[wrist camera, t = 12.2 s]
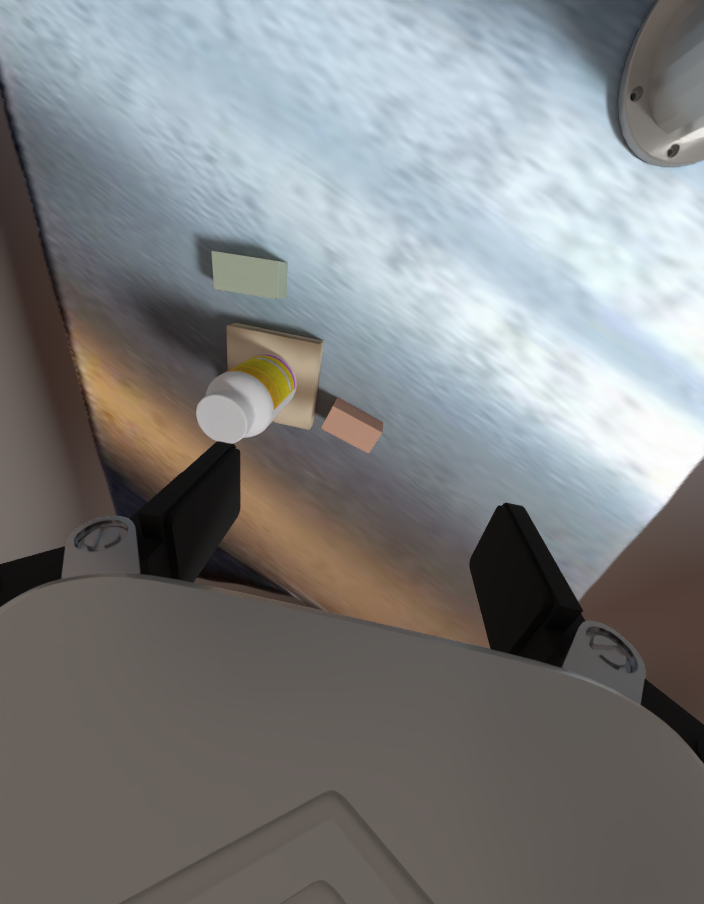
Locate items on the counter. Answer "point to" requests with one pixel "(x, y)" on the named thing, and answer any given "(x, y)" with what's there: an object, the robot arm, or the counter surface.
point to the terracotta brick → (353, 425)
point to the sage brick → (249, 275)
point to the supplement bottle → (246, 398)
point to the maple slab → (295, 352)
